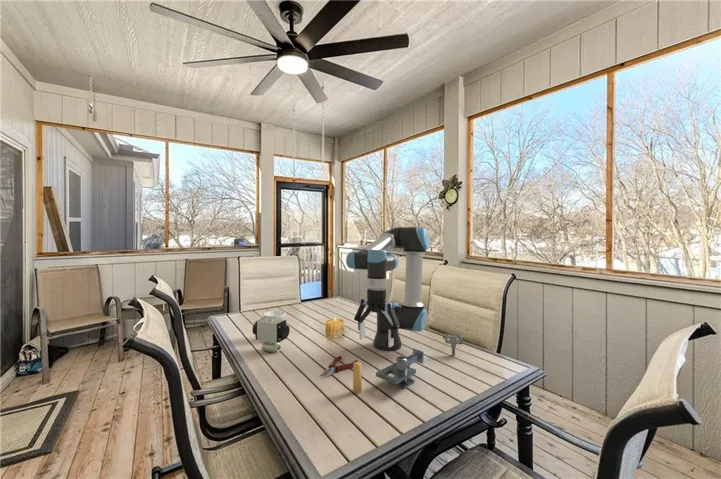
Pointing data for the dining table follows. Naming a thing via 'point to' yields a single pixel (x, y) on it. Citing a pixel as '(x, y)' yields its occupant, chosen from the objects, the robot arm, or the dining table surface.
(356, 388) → the orange rounded rod
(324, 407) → the dining table surface
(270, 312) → the cup
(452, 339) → the mechanical component
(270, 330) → the ball valve
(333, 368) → the pliers
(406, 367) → the grey toggle clamp
